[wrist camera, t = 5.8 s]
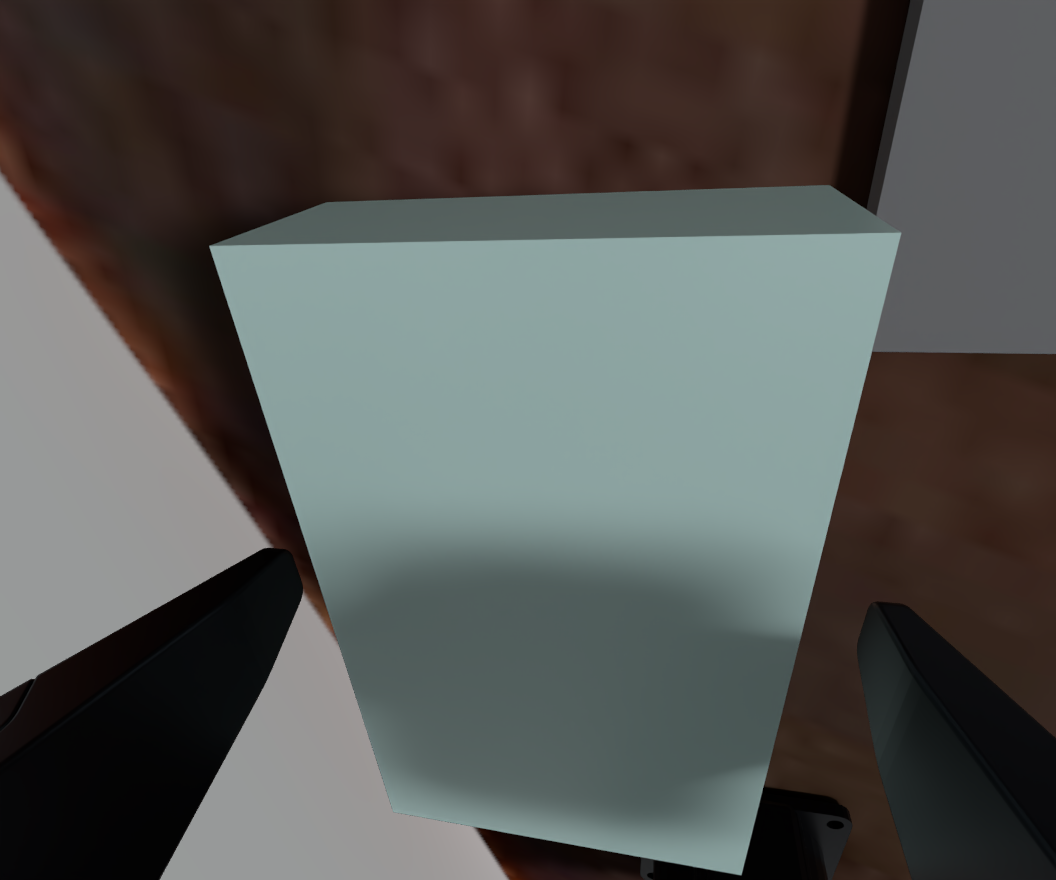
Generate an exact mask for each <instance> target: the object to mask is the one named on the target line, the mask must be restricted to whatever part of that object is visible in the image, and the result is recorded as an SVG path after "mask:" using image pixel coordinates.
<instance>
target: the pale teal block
mask: <svg viewBox="0 0 1056 880" xmlns="http://www.w3.org/2000/svg"><path fill="white" fill-rule="evenodd" d="M900 236H901V232H900V231H898V230H897V229H895V228H894V227H892V226H891V225H889V224H888V223H886V222H884V221H883V220H881V219H880V218H878V217H877V216H875V215H874V214H872V213H871V212H869V211H868V210H866V209H865V208H863V207H862V206H860V205H859V204H857V203H856V202H854V201H853V200H851V199H850V198H848V197H847V196H845V195H844V194H842V193H841V192H839V191H838V190H836V189H835V188H833V187H832V186H830V185H819V186H790V187H760V188H731V189H702V190H672V191H643V192H614V193H585V194H555V195H526V196H497V197H467V198H438V199H409V200H379V201H350V202H326V203H324V204H321V205H318V206H315V207H313V208H310V209H307V210H305V211H302V212H299V213H297V214H294V215H291V216H289V217H286V218H283V219H280V220H278V221H275V222H272V223H270V224H267V225H264V226H262V227H259V228H256V229H254V230H251V231H248V232H246V233H243V234H240V235H237V236H235V237H232V238H229V239H227V240H224V241H221V242H219V243H216V244H213V245H211V246H209V247H210V250H211V253H212V256H213V259H214V262H215V265H216V268H217V271H218V275H219V278H220V281H221V284H222V287H223V290H224V293H225V296H226V299H227V302H228V305H229V308H230V311H231V315H232V318H233V321H234V324H235V327H236V330H237V333H238V336H239V339H240V342H241V345H242V348H243V351H244V355H245V358H246V361H247V364H248V367H249V370H250V373H251V376H252V379H253V382H254V385H255V388H256V391H257V395H258V398H259V401H260V404H261V407H262V410H263V413H264V416H265V419H266V422H267V425H268V428H269V431H270V435H271V438H272V441H273V444H274V447H275V450H276V453H277V456H278V459H279V462H280V465H281V468H282V471H283V475H284V478H285V481H286V484H287V487H288V490H289V493H290V496H291V499H292V502H293V505H294V508H295V511H296V515H297V518H298V521H299V524H300V527H301V530H302V533H303V536H304V539H305V542H306V545H307V548H308V551H309V554H310V558H311V561H312V564H313V567H314V570H315V573H316V576H317V579H318V582H319V585H320V588H321V591H322V594H323V598H324V601H325V604H326V607H327V610H328V613H329V616H330V619H331V622H332V625H333V628H334V631H335V634H336V638H337V641H338V644H339V647H340V650H341V653H342V656H343V659H344V662H345V665H346V668H347V671H348V674H349V678H350V680H351V684H352V687H353V690H354V693H355V696H356V699H357V701H358V705H359V708H360V711H361V714H362V718H363V720H364V724H365V727H366V730H367V733H368V736H369V739H370V742H371V745H372V748H373V751H374V754H375V757H376V761H377V764H378V766H379V770H380V773H381V776H382V779H383V782H384V785H385V788H386V791H387V794H388V797H389V800H390V804H391V807H392V809H393V812H395V813H401V814H406V815H412V816H417V817H423V818H428V819H434V820H439V821H445V822H450V823H456V824H461V825H467V826H472V827H478V828H483V829H489V830H494V831H500V832H505V833H511V834H517V835H522V836H528V837H533V838H539V839H544V840H550V841H555V842H561V843H566V844H572V845H577V846H583V847H588V848H594V849H599V850H605V851H610V852H616V853H621V854H627V855H632V856H638V857H643V858H649V859H654V860H660V861H665V862H671V863H676V864H682V865H687V866H693V867H698V868H704V869H709V870H715V871H720V872H726V873H731V874H737V875H742V871H743V867H744V863H745V859H746V855H747V851H748V847H749V843H750V839H751V835H752V831H753V827H754V823H755V819H756V815H757V811H758V807H759V803H760V799H761V795H762V791H763V787H764V783H765V778H766V774H767V770H768V766H769V762H770V758H771V754H772V750H773V746H774V742H775V738H776V734H777V730H778V726H779V722H780V718H781V714H782V710H783V706H784V702H785V698H786V694H787V690H788V686H789V682H790V678H791V674H792V670H793V666H794V662H795V658H796V654H797V650H798V646H799V642H800V638H801V634H802V630H803V626H804V622H805V618H806V614H807V610H808V606H809V602H810V598H811V594H812V590H813V586H814V582H815V578H816V574H817V570H818V566H819V562H820V558H821V554H822V550H823V546H824V542H825V538H826V534H827V530H828V526H829V522H830V518H831V514H832V509H833V505H834V501H835V497H836V493H837V489H838V485H839V481H840V477H841V473H842V469H843V465H844V461H845V457H846V453H847V449H848V445H849V441H850V437H851V433H852V429H853V425H854V421H855V417H856V413H857V409H858V405H859V401H860V397H861V393H862V389H863V385H864V381H865V377H866V373H867V369H868V365H869V361H870V357H871V353H872V349H873V345H874V341H875V337H876V333H877V329H878V325H879V321H880V317H881V313H882V309H883V305H884V301H885V297H886V293H887V289H888V285H889V281H890V277H891V273H892V269H893V265H894V261H895V257H896V253H897V249H898V245H899V240H900Z"/></svg>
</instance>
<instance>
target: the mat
mask: <svg viewBox="0 0 1056 880" xmlns="http://www.w3.org/2000/svg"><path fill="white" fill-rule="evenodd" d="M866 210H868V211H869V212H871V213H872V214H874V215H875V216H877V217H878V218H880V219H881V220H883V221H884V222H886V223H888V224H889V225H891V226H892V227H894V228H895V229H897V230H898V231H900V232H901V236H900V240H899V245H898V249H897V253H896V257H895V261H894V265H893V269H892V273H891V277H890V281H889V285H888V289H887V293H886V297H885V301H884V305H883V309H882V313H881V317H880V321H879V325H878V329H877V333H876V337H875V341H874V345H873V349H872V352H945V353H1026V354H1056V0H910V5H909V10H908V15H907V19H906V24H905V29H904V34H903V38H902V43H901V48H900V52H899V57H898V62H897V67H896V71H895V76H894V81H893V86H892V90H891V95H890V100H889V105H888V109H887V114H886V119H885V124H884V128H883V133H882V138H881V142H880V147H879V152H878V157H877V161H876V166H875V171H874V176H873V180H872V185H871V190H870V195H869V199H868V204H867V209H866Z"/></svg>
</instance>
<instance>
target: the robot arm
mask: <svg viewBox="0 0 1056 880" xmlns="http://www.w3.org/2000/svg"><path fill="white" fill-rule="evenodd" d="M302 594H303V585H302V581H301V579H300V576H299V573H298V570H297V567H296V564H295V561H294V558H293V556H292V554H291V553H290V552H289V551H288V550H286V549H276V548H265V549H262V550H260V551H258V552H256V553H255V554H253V555H251V556H249V557H247V558H246V559H244V560H242V561H240V562H239V563H237V564H235V565H233V566H231V567H230V568H228V569H226V570H224V571H223V572H221V573H219V574H217V575H215V576H214V577H212V578H210V579H208V580H207V581H205V582H203V583H201V584H199V585H198V586H196V587H194V588H192V589H191V590H189V591H187V592H185V593H183V594H182V595H180V596H178V597H176V598H175V599H173V600H171V601H169V602H167V603H166V604H164V605H162V606H160V607H159V608H157V609H155V610H153V611H151V612H150V613H148V614H146V615H144V616H142V617H141V618H139V619H137V620H136V621H134V622H132V623H130V624H128V625H126V626H125V627H123V628H122V629H119V630H118V631H116V632H114V633H112V634H110V635H109V636H107V637H105V638H103V639H102V640H100V641H98V642H96V643H94V644H93V645H91V646H89V647H87V648H85V649H84V650H82V651H80V652H78V653H77V654H75V655H73V656H71V657H69V658H68V659H66V660H64V661H62V662H61V663H59V664H57V665H55V666H53V667H52V668H50V669H48V670H46V671H45V672H43V673H41V674H39V675H38V676H37V677H36V678H35V679H30V680H28V681H27V682H25V683H23V684H21V685H19V686H18V687H16V688H14V689H12V690H11V691H9V692H7V693H6V694H4V695H2V696H0V880H160V878H161V876H162V874H163V872H164V870H165V868H166V867H167V865H168V863H169V861H170V859H171V858H172V856H173V854H174V852H175V850H176V848H177V846H178V845H179V843H180V841H181V839H182V837H183V835H184V833H185V832H186V830H187V828H188V826H189V824H190V822H191V821H192V819H193V817H194V815H195V813H196V811H197V809H198V808H199V806H200V804H201V802H202V800H203V798H204V796H205V795H206V793H207V791H208V789H209V787H210V785H211V784H212V782H213V780H214V778H215V776H216V774H217V772H218V771H219V769H220V767H221V765H222V763H223V761H224V760H225V758H226V756H227V754H228V752H229V750H230V748H231V747H232V745H233V743H234V741H235V739H236V737H237V735H238V734H239V732H240V730H241V728H242V726H243V724H244V723H245V721H246V719H247V717H248V715H249V713H250V711H251V710H252V708H253V706H254V704H255V702H256V700H257V698H258V697H259V695H260V693H261V691H262V689H263V687H264V685H265V683H266V681H267V679H268V676H269V674H270V672H271V670H272V668H273V665H274V663H275V660H276V658H277V656H278V654H279V651H280V649H281V646H282V644H283V642H284V639H285V637H286V635H287V632H288V630H289V627H290V625H291V623H292V620H293V618H294V615H295V613H296V611H297V608H298V605H299V604H300V601H301V598H302ZM857 656H858V662H859V668H860V673H861V679H862V684H863V690H864V695H865V701H866V706H867V712H868V717H869V722H870V728H871V733H872V739H873V744H874V749H875V754H876V759H877V764H878V768H879V772H880V775H881V779H882V783H883V786H884V789H885V793H886V796H887V799H888V802H889V806H890V809H891V812H892V816H893V819H894V822H895V826H896V829H897V832H898V835H899V839H900V842H901V845H902V849H903V852H904V855H905V858H906V862H907V865H908V868H909V872H910V875H911V878H912V880H1056V738H1055V737H1054V736H1053V735H1052V734H1051V733H1049V732H1048V731H1047V730H1046V729H1045V728H1044V727H1043V726H1042V725H1040V724H1039V723H1038V722H1037V721H1036V720H1035V719H1034V718H1033V717H1032V716H1030V715H1029V714H1028V713H1027V712H1026V711H1025V710H1024V709H1023V708H1021V707H1020V706H1019V705H1018V704H1017V703H1016V702H1015V701H1014V700H1012V699H1011V698H1010V697H1009V696H1008V695H1007V694H1006V693H1005V692H1003V691H1002V690H1001V689H1000V688H999V687H998V686H997V685H996V684H995V683H993V682H992V681H991V680H990V679H989V678H988V677H987V676H986V675H984V674H983V673H982V672H981V671H980V670H979V669H978V668H977V667H975V666H974V665H973V664H972V663H971V662H970V661H969V660H968V659H967V658H965V657H964V656H963V655H962V654H961V653H960V652H959V651H958V650H956V649H955V648H954V647H953V646H952V645H951V644H950V643H949V642H947V641H946V640H945V639H944V638H943V637H942V636H941V635H940V634H938V633H937V632H936V631H935V630H934V629H933V628H932V627H931V626H930V625H928V624H927V623H926V622H925V621H924V620H923V619H922V618H921V617H919V616H918V615H917V614H916V613H915V612H914V611H913V610H912V609H910V608H909V607H908V606H906V605H904V604H900V603H889V602H873V603H871V605H870V606H869V608H868V611H867V614H866V617H865V620H864V623H863V627H862V630H861V633H860V636H859V639H858V645H857ZM851 829H852V822H851V818H850V814H849V811H848V809H847V808H845V807H844V806H842V805H838V804H834V803H828V802H821V801H814V800H808V799H801V798H795V797H788V796H781V795H775V794H768V793H762V795H761V799H760V803H759V807H758V811H757V815H756V819H755V823H754V827H753V831H752V835H751V839H750V843H749V847H748V851H747V855H746V859H745V863H744V867H743V871H742V875H737V874H731V873H726V872H720V871H715V870H709V869H704V868H698V867H693V866H687V865H682V864H676V863H671V862H665V861H660V860H654V859H649V858H643V857H641V867H640V874H641V877H642V878H644V879H645V880H832V877H833V874H834V872H835V869H836V867H837V864H838V862H839V859H840V857H841V854H842V852H843V849H844V847H845V844H846V842H847V839H848V837H849V834H850V832H851Z"/></svg>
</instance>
